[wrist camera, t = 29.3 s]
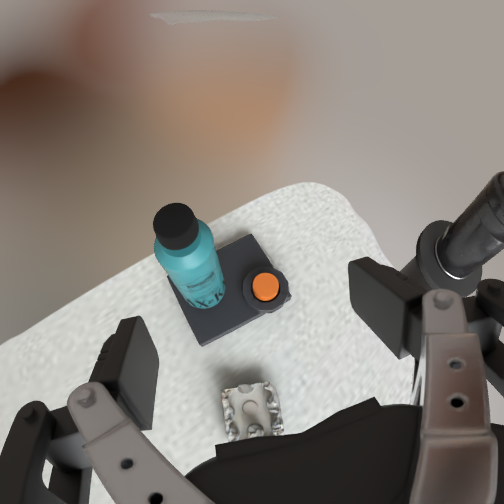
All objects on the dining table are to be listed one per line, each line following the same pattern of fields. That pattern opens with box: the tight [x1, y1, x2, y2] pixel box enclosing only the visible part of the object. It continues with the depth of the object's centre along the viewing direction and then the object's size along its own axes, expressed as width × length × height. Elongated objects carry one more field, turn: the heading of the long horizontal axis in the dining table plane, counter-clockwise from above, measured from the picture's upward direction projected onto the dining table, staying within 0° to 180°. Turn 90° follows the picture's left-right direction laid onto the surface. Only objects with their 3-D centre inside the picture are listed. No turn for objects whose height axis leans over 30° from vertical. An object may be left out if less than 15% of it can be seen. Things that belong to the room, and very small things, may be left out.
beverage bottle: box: [153, 203, 226, 309], centre depth 34 cm, size 6×7×20 cm
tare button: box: [253, 273, 279, 301], centre depth 41 cm, size 4×4×2 cm
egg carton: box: [221, 382, 284, 442], centre depth 35 cm, size 11×8×4 cm
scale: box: [167, 234, 291, 347], centre depth 44 cm, size 15×13×4 cm
